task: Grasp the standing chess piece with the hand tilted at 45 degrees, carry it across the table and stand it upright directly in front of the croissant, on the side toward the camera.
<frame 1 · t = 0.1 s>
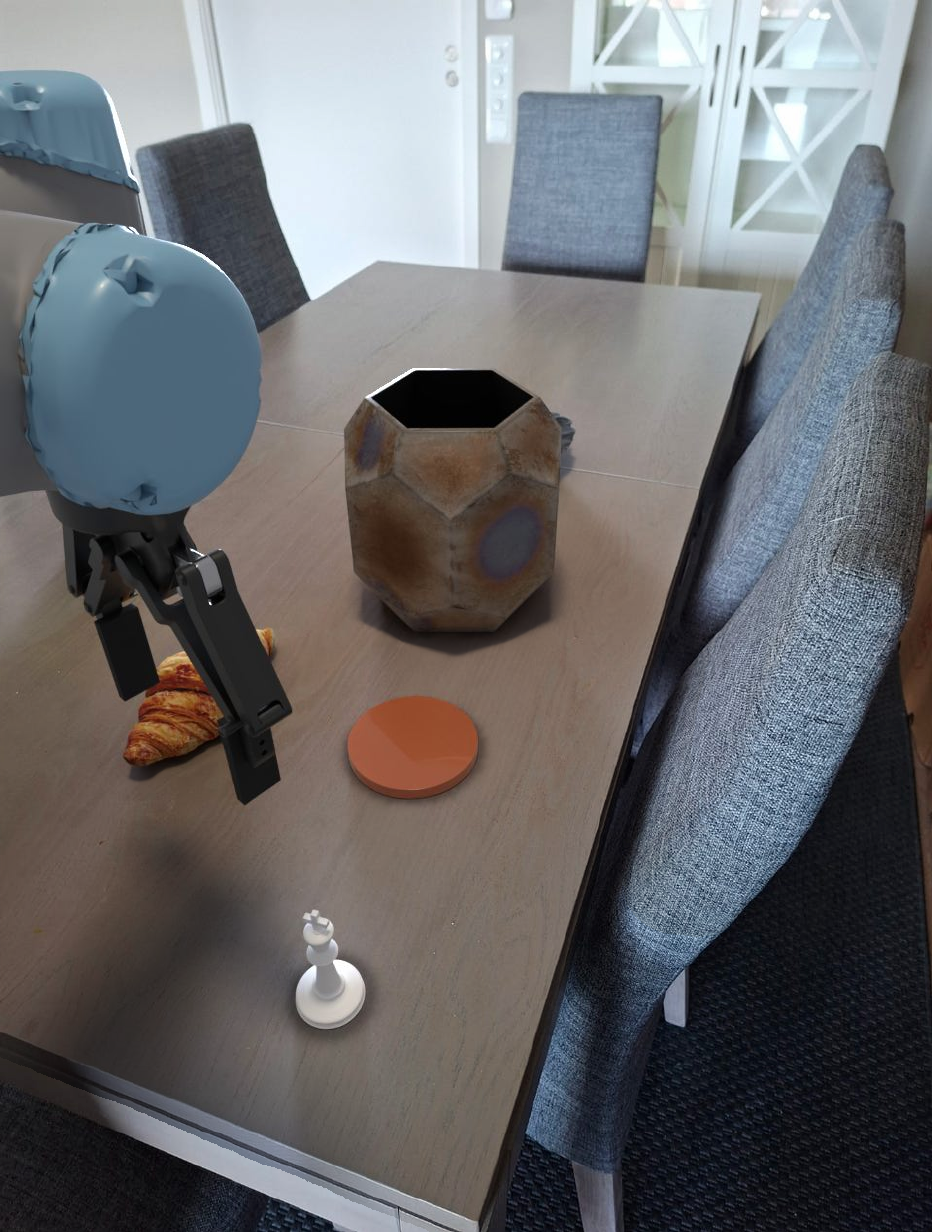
hand: (196, 736, 57), 19 cm above the table, tool pointing down, fingers open, 13 cm apart
planter: (455, 592, 101), on the table
mug: (124, 541, 111), on the table
orange flat disc: (413, 749, 81), on the table
board: (496, 462, 127), on the table
coffee jar: (167, 464, 127), on the table
chess piece: (331, 997, 62), on the table
croissant: (212, 709, 86), on the table
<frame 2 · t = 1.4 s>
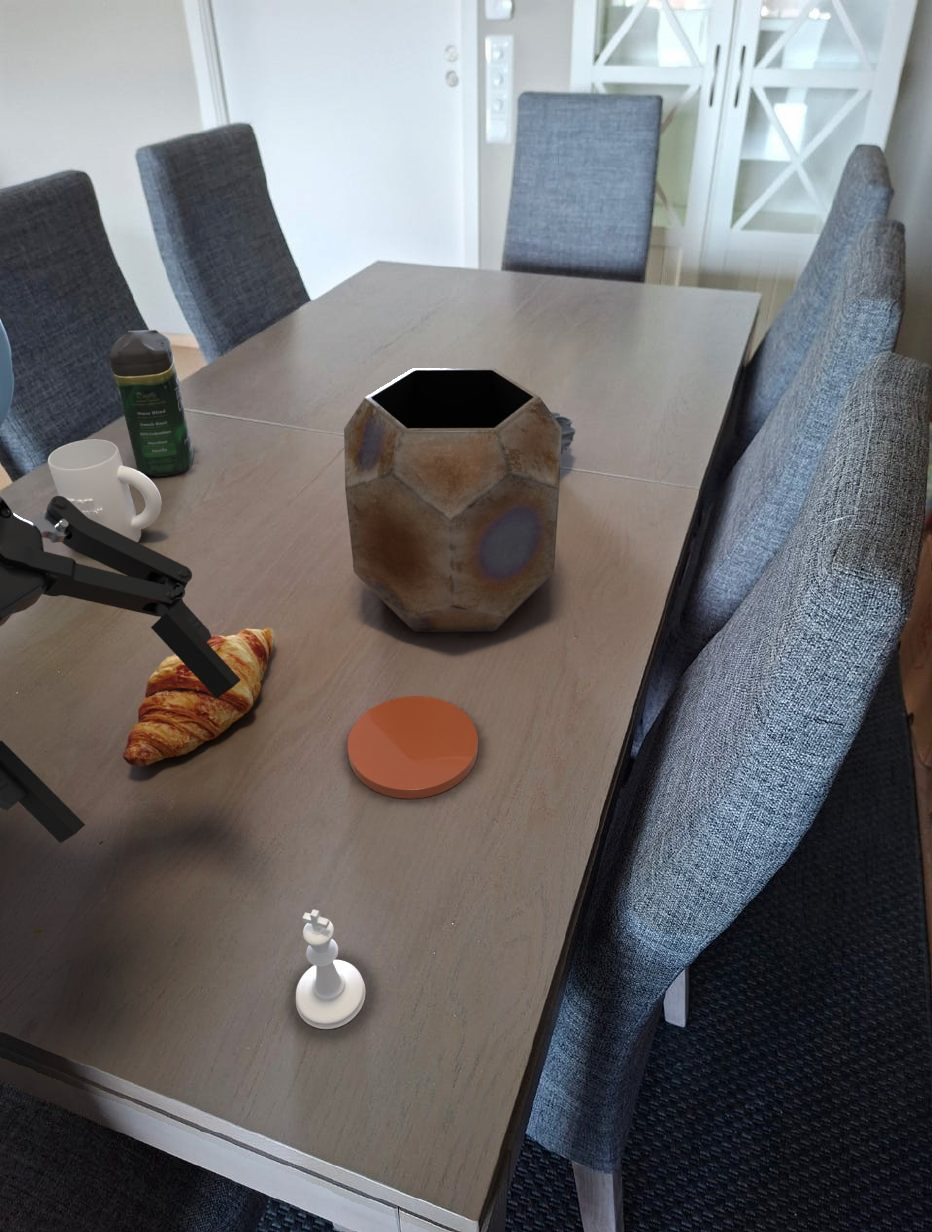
hand: (158, 756, 54), 19 cm above the table, tool tilted 45°, fingers open, 13 cm apart
nothing on the table moved.
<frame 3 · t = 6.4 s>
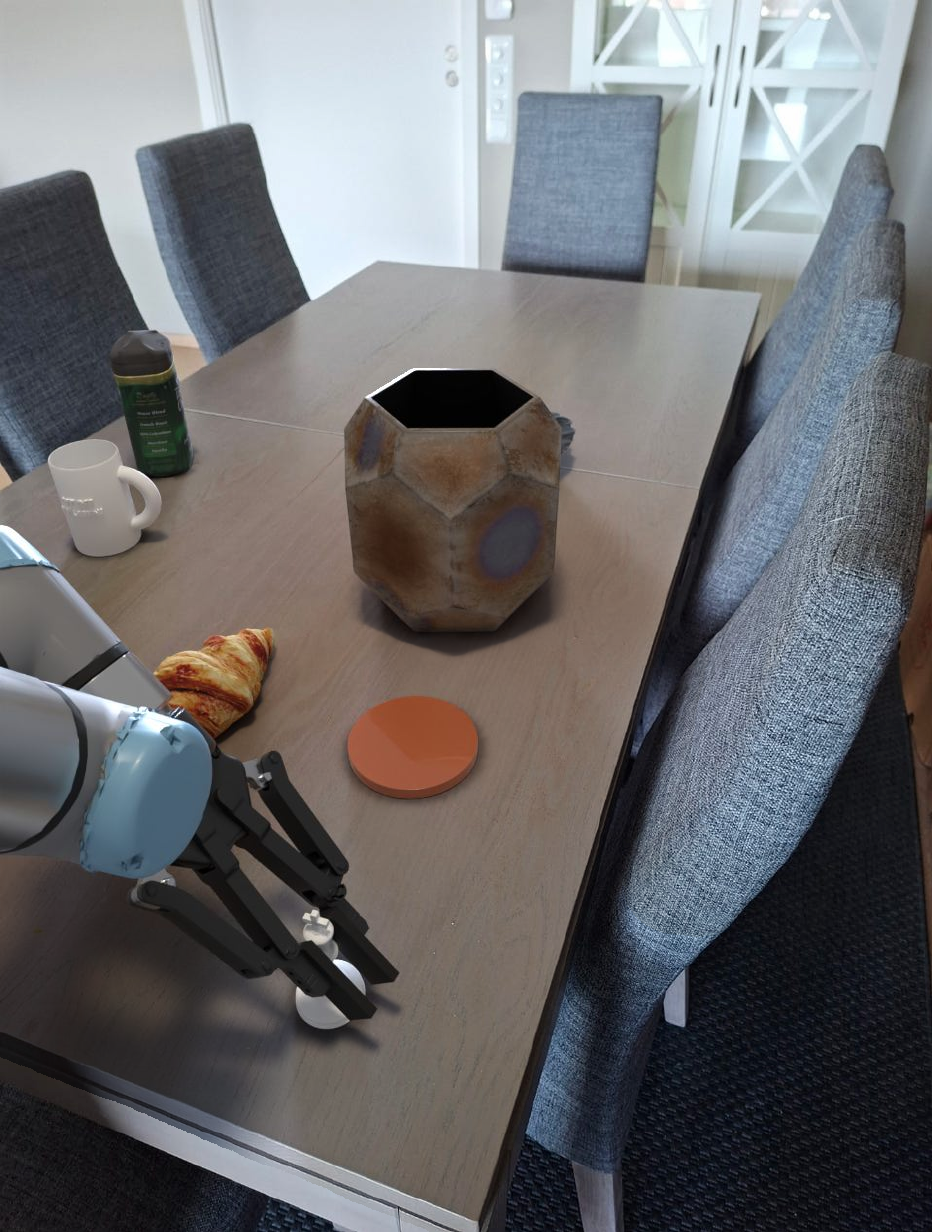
hand: (374, 996, 59), 3 cm above the table, tool tilted 45°, fingers closed on chess piece, 2 cm apart
chess piece: (331, 996, 62), on the table, touching gripper
everything else where it was.
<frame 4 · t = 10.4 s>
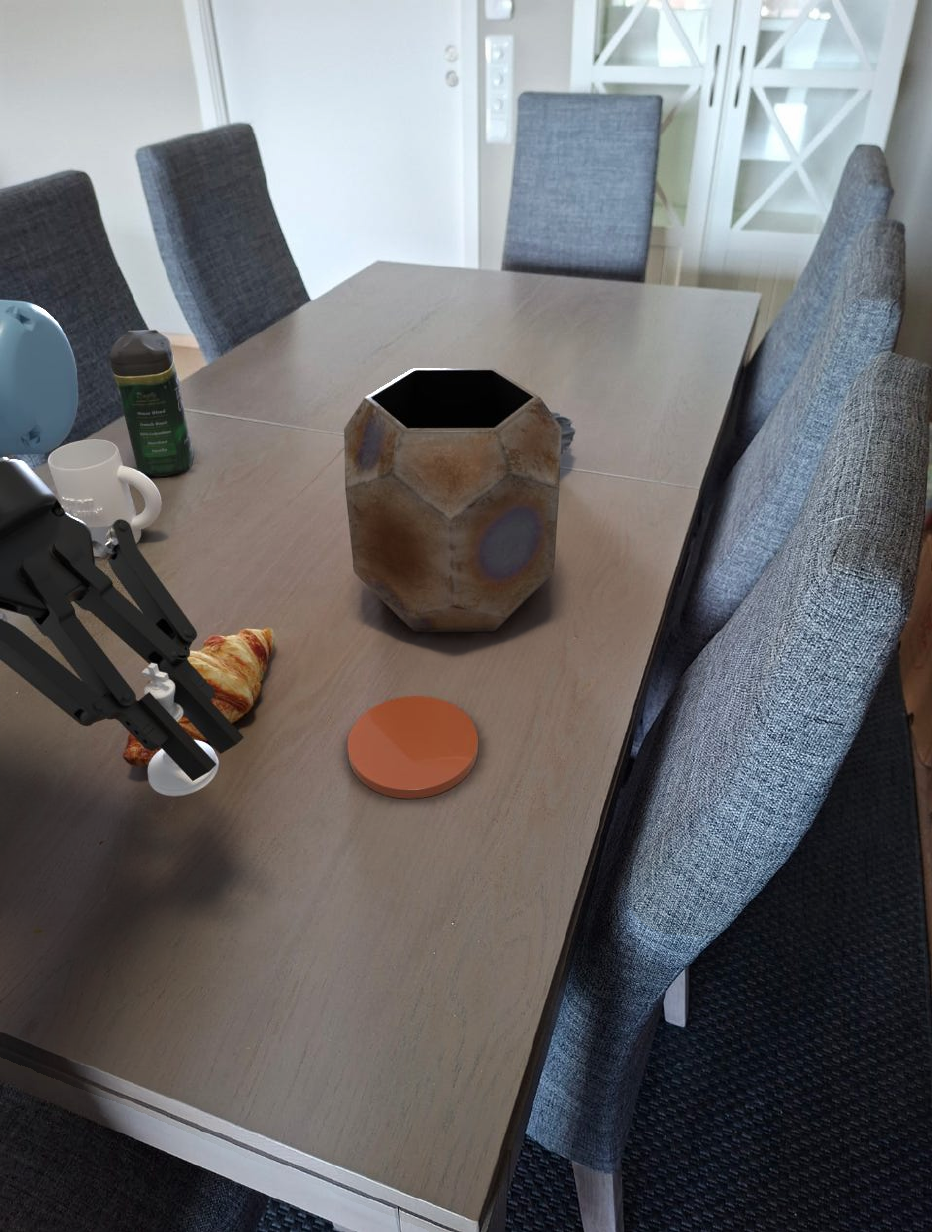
hand: (218, 758, 60), 15 cm above the table, tool tilted 45°, fingers closed on chess piece, 2 cm apart
chess piece: (184, 772, 63), point 12 cm above the table, touching gripper
everything else where it was.
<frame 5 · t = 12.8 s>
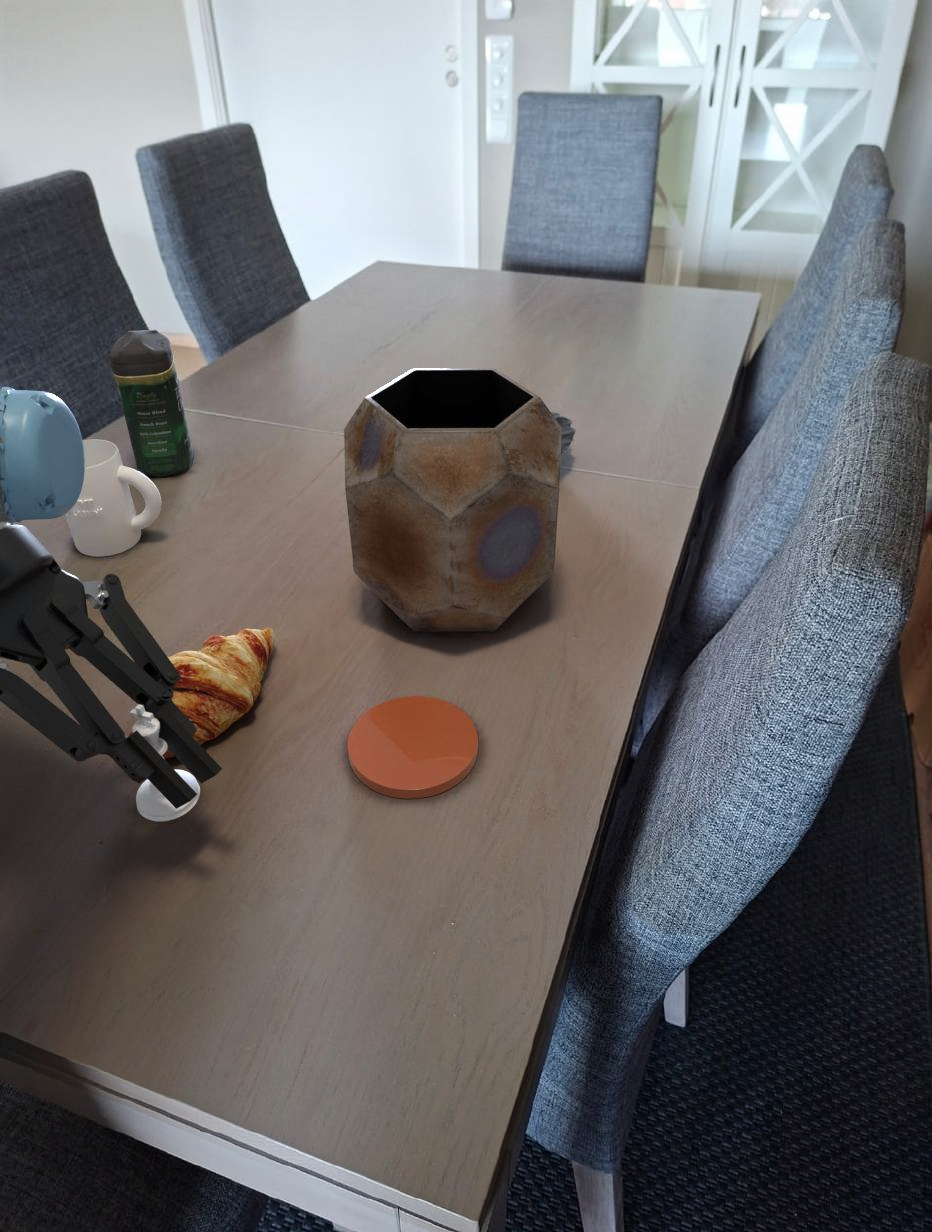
hand: (199, 788, 67), 8 cm above the table, tool tilted 45°, fingers closed on chess piece, 2 cm apart
chess piece: (169, 799, 70), point 5 cm above the table, touching gripper
everything else where it was.
when the fingers open (3 cm above the table, at t = 14.4 s): chess piece stays where it is, on the table.
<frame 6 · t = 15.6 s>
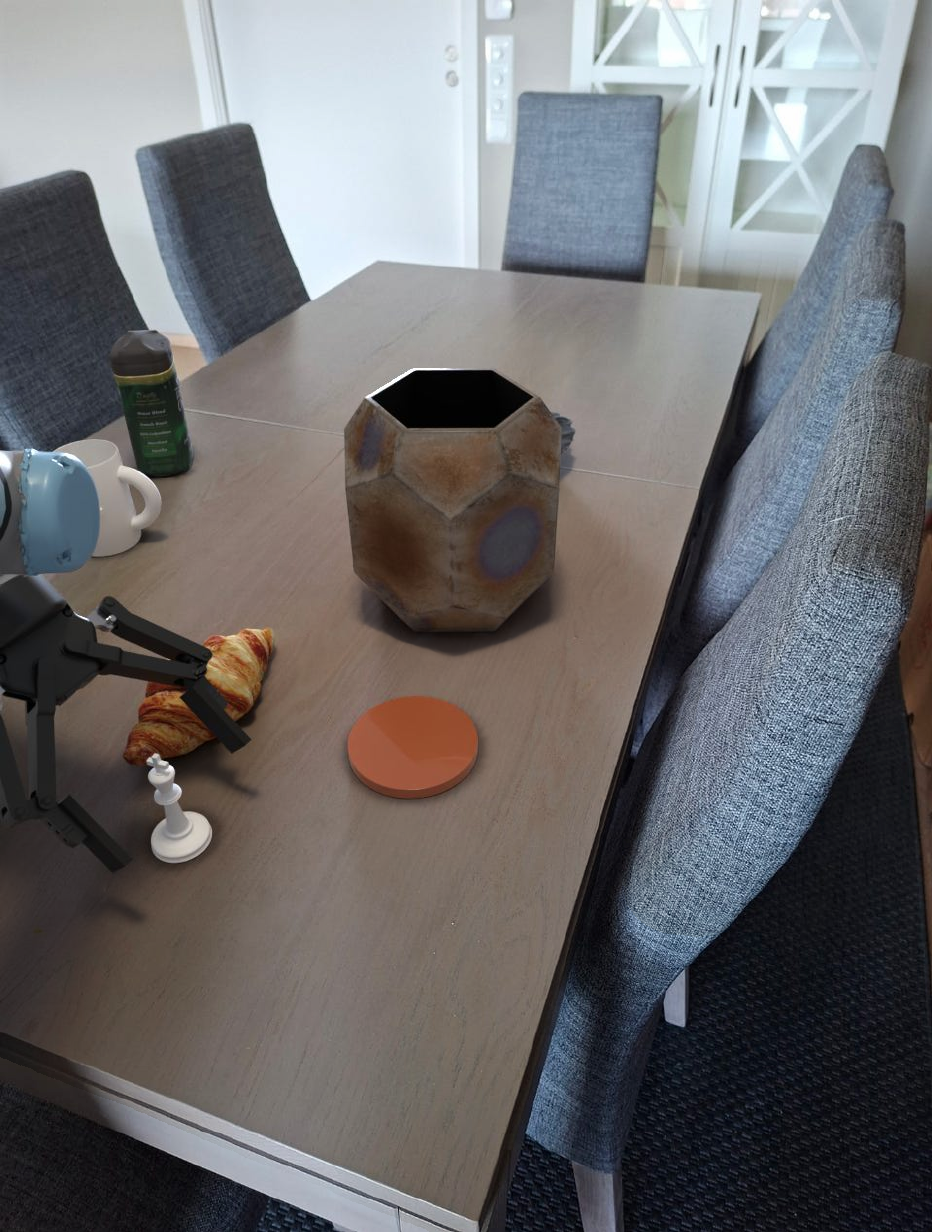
hand: (186, 802, 69), 6 cm above the table, tool tilted 45°, fingers open, 13 cm apart
chess piece: (182, 840, 73), on the table
everything else where it was.
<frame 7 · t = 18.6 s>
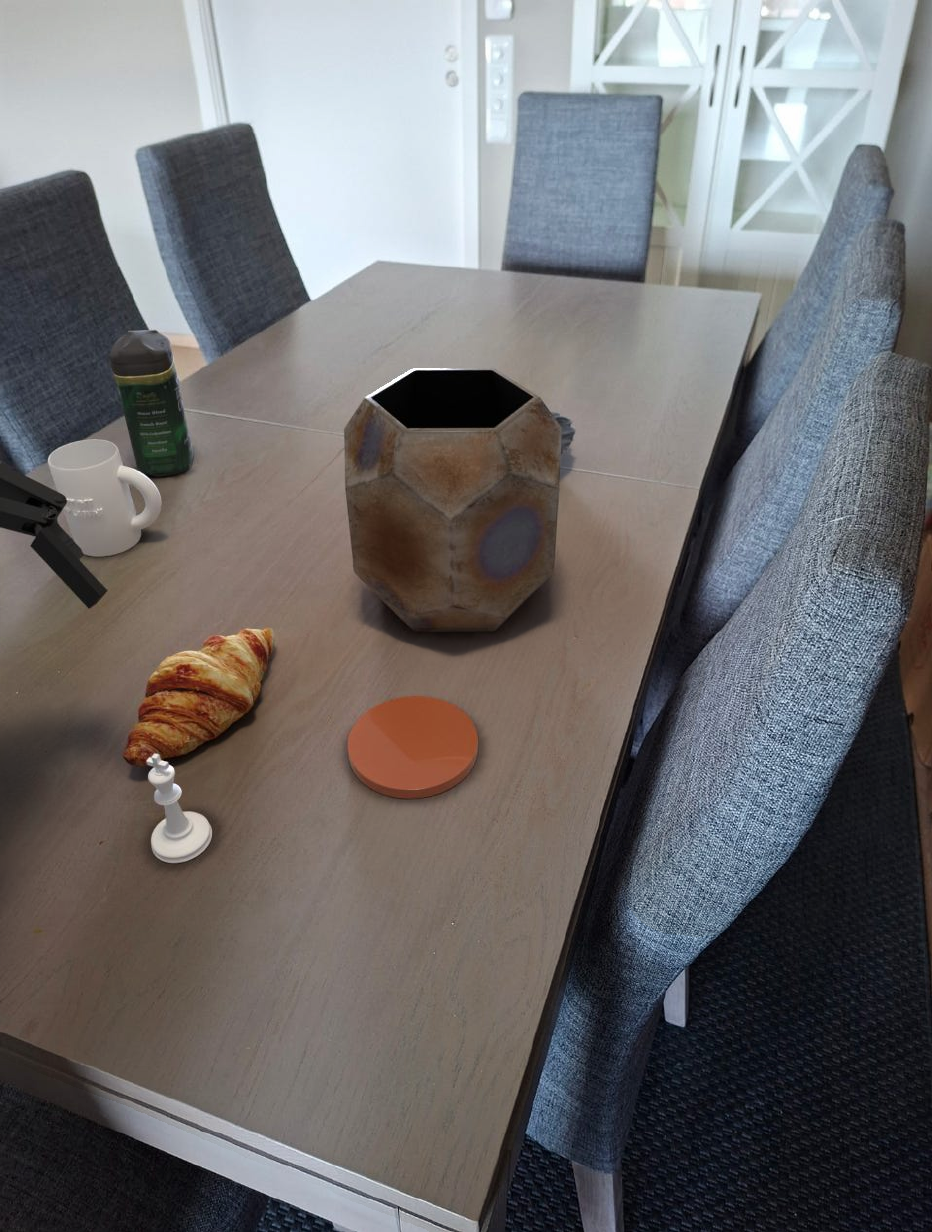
hand: (28, 649, 63), 19 cm above the table, tool tilted 45°, fingers open, 13 cm apart
nothing on the table moved.
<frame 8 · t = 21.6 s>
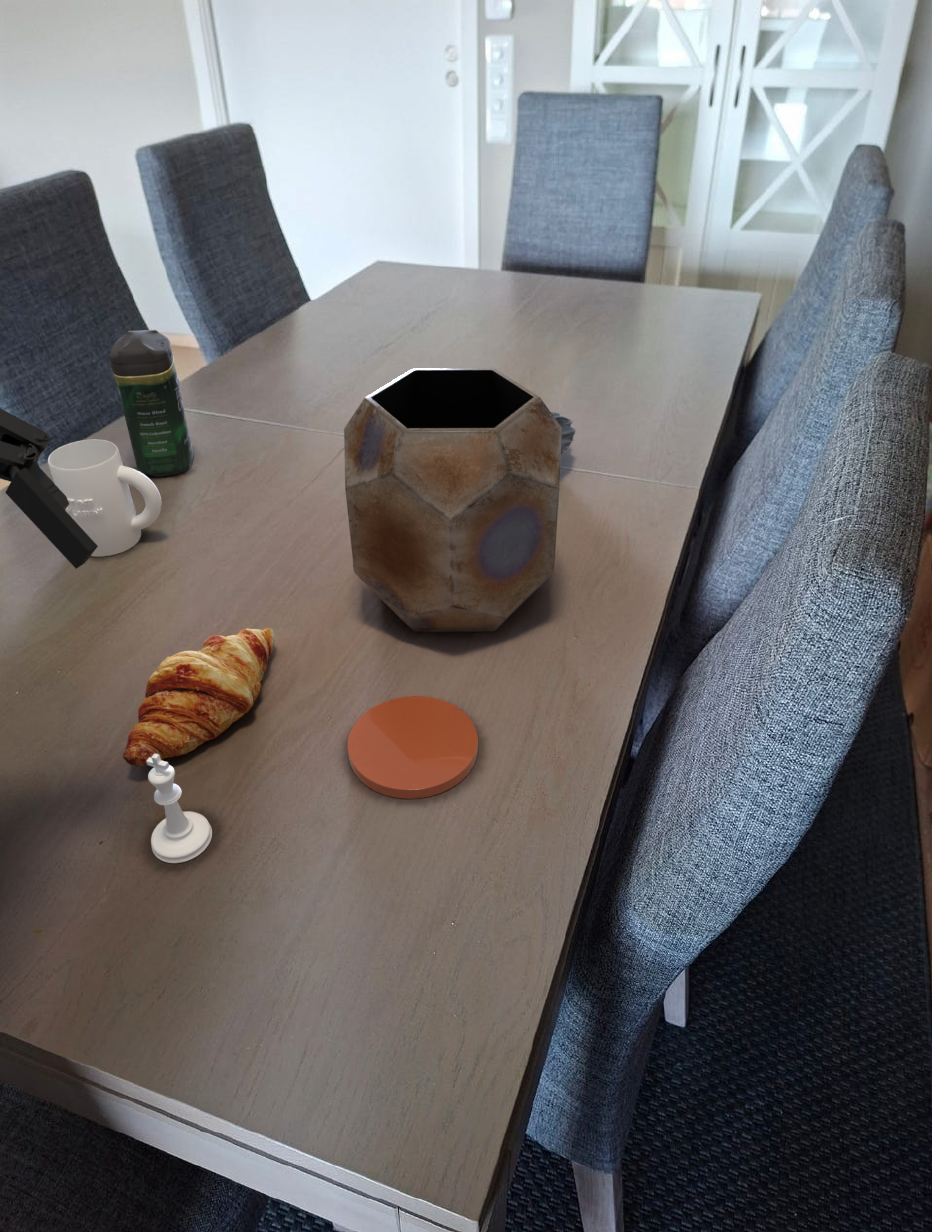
hand: (0, 614, 52), 28 cm above the table, tool tilted 45°, fingers open, 13 cm apart
nothing on the table moved.
at the end: chess piece inside the target area on the table beside the croissant (1.1 cm from its centre), on the table; chess piece tilted 0°; the gripper is holding nothing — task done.
